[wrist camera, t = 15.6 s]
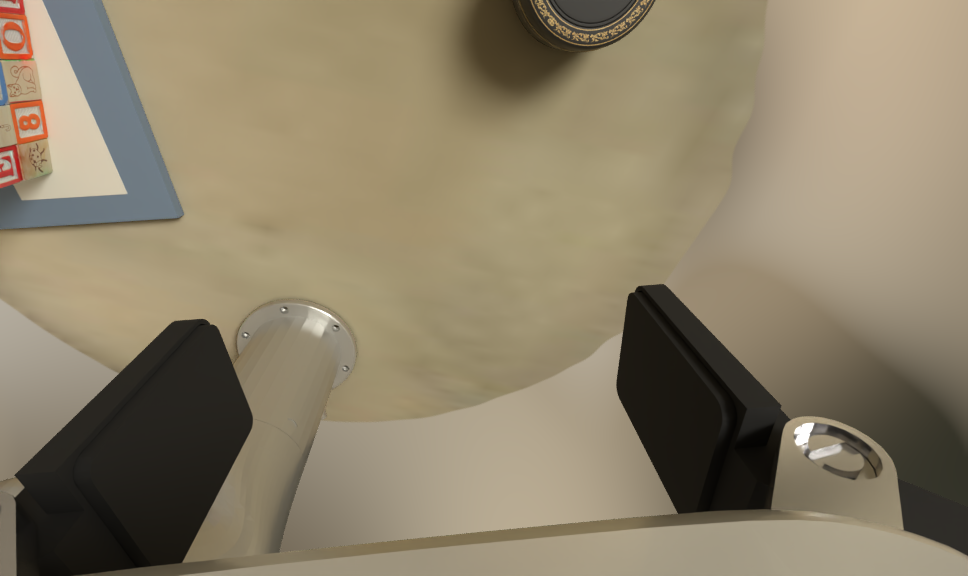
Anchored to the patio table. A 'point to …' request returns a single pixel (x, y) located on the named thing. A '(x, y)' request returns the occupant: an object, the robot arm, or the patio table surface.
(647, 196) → the patio table surface
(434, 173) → the patio table surface
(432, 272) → the patio table surface
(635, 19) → the jar
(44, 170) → the stack of blocks
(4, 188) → the board
